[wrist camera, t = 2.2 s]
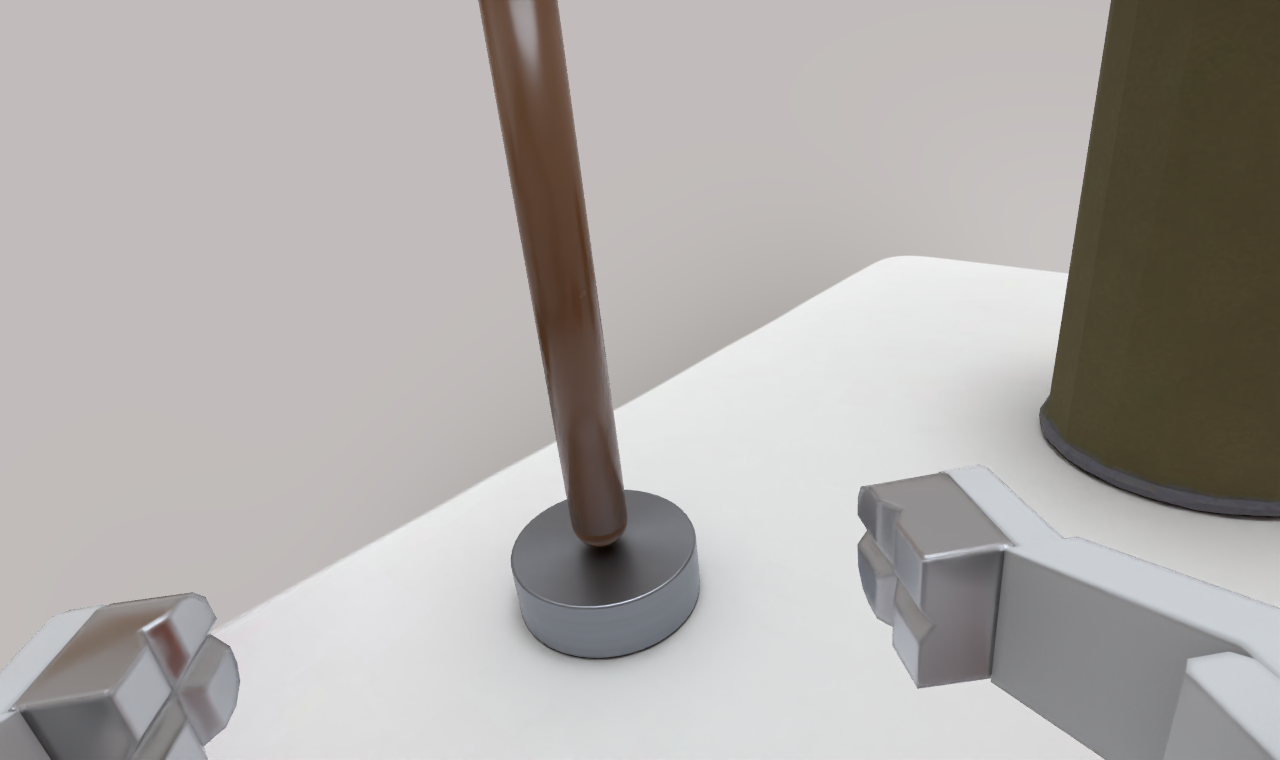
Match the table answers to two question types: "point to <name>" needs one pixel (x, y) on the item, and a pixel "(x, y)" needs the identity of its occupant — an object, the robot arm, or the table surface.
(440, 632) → the table surface
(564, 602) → the peg on round base
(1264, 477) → the canister
